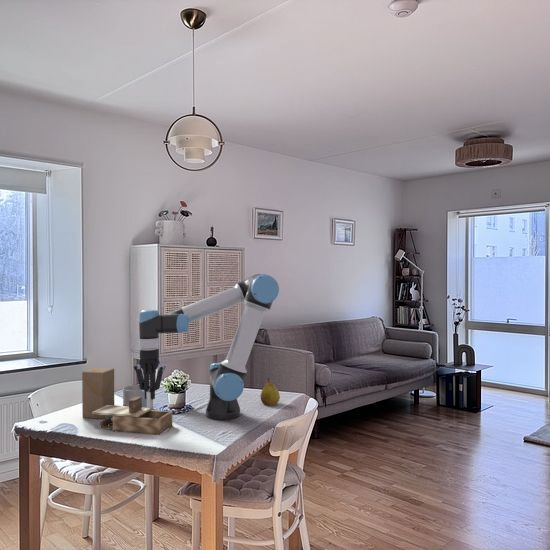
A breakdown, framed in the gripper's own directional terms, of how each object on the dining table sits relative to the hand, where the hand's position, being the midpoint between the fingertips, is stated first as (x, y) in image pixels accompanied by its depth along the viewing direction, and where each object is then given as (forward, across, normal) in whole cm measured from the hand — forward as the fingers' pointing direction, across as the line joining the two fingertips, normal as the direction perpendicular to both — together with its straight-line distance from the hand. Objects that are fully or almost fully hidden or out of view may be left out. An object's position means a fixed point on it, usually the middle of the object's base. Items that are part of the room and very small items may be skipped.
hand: (149, 407), depth 210 cm
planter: (+9, +18, -24) cm, 31 cm away
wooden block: (+9, +31, -13) cm, 35 cm away
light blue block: (+9, +8, -14) cm, 18 cm away
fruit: (+10, -38, -48) cm, 62 cm away
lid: (+3, +12, 0) cm, 13 cm away
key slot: (+9, +16, 0) cm, 18 cm away
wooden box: (+9, +3, 0) cm, 9 cm away
